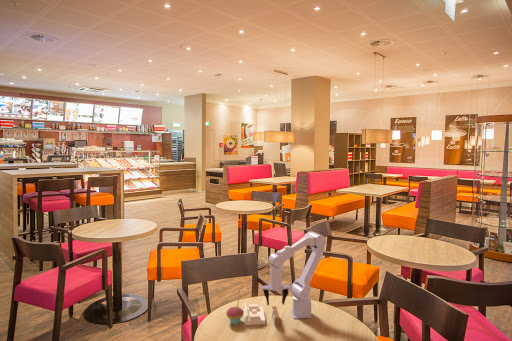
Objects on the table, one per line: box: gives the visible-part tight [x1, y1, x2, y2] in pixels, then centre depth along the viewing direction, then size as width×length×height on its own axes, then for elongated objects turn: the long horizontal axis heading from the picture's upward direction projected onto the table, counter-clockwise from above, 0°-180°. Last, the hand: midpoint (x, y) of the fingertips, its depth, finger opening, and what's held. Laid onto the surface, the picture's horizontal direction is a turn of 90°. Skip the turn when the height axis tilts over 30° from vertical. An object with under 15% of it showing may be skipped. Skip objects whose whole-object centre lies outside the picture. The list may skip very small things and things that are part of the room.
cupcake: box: [225, 299, 244, 325], centre depth 157 cm, size 9×8×12 cm
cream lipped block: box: [243, 302, 266, 326], centre depth 161 cm, size 10×13×5 cm
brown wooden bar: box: [271, 305, 280, 328], centre depth 158 cm, size 2×11×5 cm, turn 5°
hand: (275, 304), depth 158 cm, fingers open, 7 cm apart
